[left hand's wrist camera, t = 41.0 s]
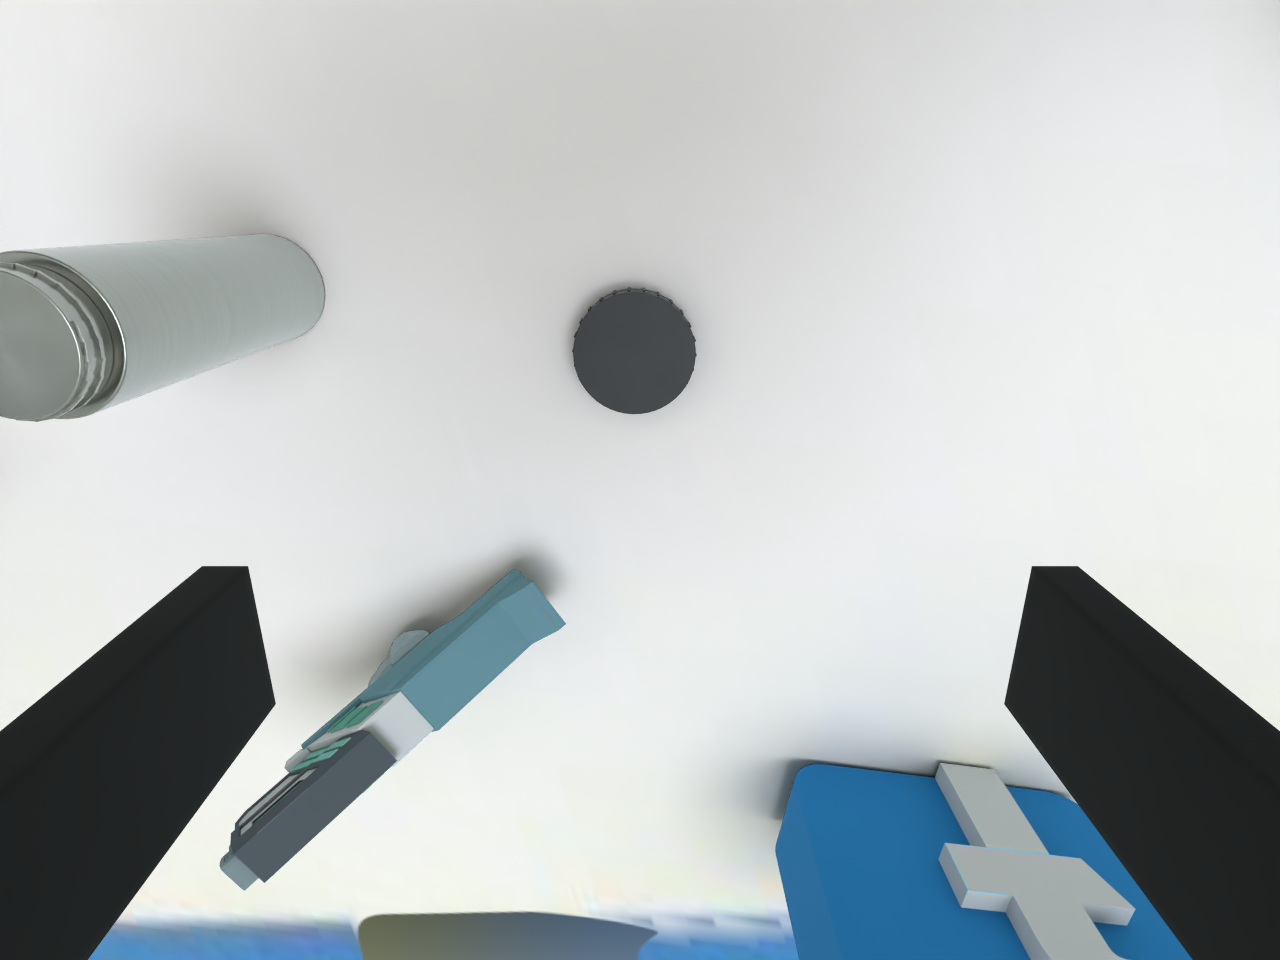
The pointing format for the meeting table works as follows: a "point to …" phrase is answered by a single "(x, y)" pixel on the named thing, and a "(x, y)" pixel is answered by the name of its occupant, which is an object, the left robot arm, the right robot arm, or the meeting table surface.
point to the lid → (634, 351)
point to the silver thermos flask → (142, 317)
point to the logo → (955, 872)
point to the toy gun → (388, 722)
